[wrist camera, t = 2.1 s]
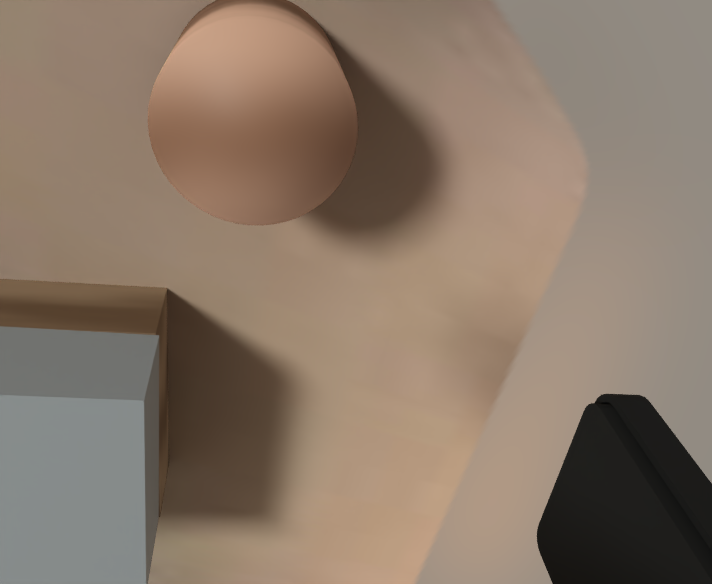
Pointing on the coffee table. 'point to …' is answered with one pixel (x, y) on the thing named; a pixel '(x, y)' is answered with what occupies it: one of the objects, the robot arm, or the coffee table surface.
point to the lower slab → (96, 324)
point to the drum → (253, 113)
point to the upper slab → (78, 456)
